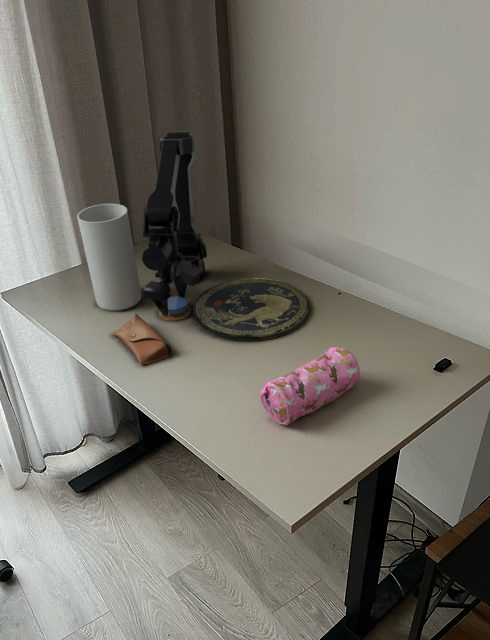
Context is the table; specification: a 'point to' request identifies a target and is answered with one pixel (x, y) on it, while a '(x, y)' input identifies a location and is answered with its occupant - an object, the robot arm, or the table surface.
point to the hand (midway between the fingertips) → (174, 307)
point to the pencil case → (310, 385)
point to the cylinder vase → (110, 256)
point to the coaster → (176, 317)
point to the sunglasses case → (143, 341)
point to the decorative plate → (250, 309)
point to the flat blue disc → (176, 305)
